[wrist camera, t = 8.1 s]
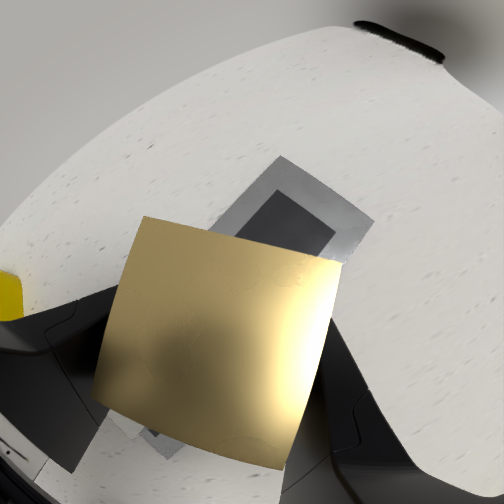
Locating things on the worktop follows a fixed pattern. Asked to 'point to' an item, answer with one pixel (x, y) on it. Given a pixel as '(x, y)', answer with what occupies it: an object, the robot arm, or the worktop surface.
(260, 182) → the grey slotted plate
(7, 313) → the element tile
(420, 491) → the robot arm
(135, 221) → the worktop surface
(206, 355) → the tan wooden block
